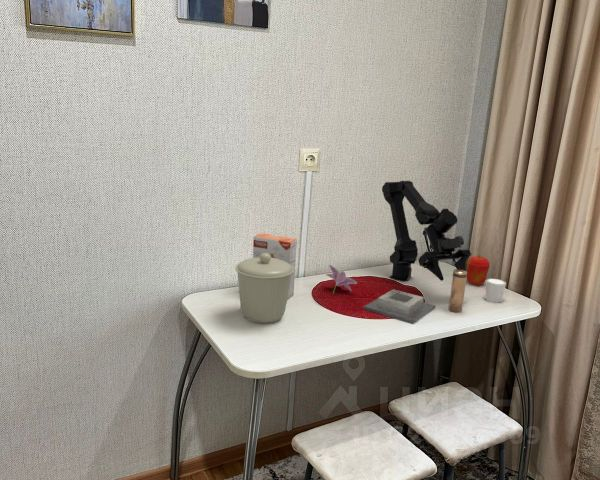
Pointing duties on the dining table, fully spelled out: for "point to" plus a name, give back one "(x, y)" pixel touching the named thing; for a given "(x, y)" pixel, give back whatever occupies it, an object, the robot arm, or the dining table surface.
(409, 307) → the frame
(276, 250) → the cracker box
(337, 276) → the lily
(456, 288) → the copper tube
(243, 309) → the canister
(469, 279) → the apple
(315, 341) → the dining table surface
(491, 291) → the shot glass
